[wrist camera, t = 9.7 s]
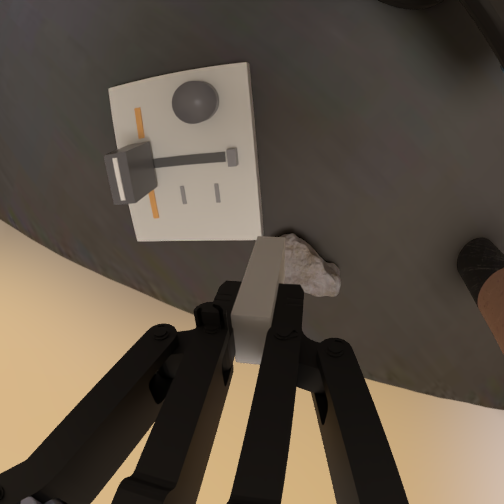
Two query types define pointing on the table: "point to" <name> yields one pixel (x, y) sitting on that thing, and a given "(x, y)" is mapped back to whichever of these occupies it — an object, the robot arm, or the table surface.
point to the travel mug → (485, 282)
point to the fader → (130, 173)
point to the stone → (309, 268)
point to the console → (194, 153)
